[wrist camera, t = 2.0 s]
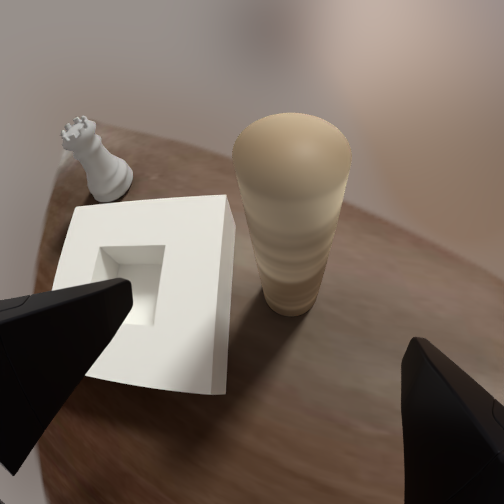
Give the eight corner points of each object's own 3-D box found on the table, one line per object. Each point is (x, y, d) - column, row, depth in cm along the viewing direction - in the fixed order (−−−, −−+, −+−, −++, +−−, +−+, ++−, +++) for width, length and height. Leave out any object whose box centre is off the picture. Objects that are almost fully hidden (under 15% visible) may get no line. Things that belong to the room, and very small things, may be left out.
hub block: (225, 394, 18) (210, 394, 14) (73, 371, 19) (39, 363, 16) (235, 226, 23) (226, 194, 19) (99, 231, 24) (75, 206, 21)
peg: (318, 316, 20) (360, 197, 8) (263, 316, 20) (227, 199, 8) (316, 265, 21) (341, 113, 9) (264, 265, 21) (236, 115, 10)
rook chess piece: (90, 208, 26) (43, 154, 19) (100, 172, 28) (61, 117, 21) (130, 201, 25) (88, 138, 18) (138, 163, 27) (104, 101, 20)
